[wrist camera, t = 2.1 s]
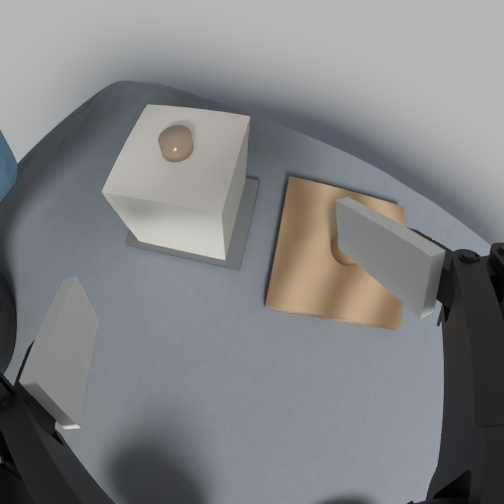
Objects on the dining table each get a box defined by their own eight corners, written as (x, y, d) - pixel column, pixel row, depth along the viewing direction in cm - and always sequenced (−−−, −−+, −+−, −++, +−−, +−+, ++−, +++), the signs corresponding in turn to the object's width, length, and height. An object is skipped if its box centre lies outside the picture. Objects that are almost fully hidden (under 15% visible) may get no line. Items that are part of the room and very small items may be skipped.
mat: (126, 244, 29) (125, 242, 28) (157, 165, 32) (156, 162, 31) (239, 270, 29) (239, 268, 28) (259, 183, 32) (259, 180, 31)
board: (264, 306, 28) (265, 305, 26) (287, 181, 32) (289, 175, 31) (394, 329, 27) (400, 328, 26) (399, 211, 32) (404, 206, 31)
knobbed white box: (139, 241, 28) (94, 182, 17) (166, 167, 31) (144, 92, 20) (225, 260, 28) (220, 203, 17) (245, 181, 31) (251, 104, 20)
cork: (328, 262, 28) (342, 248, 24) (332, 230, 29) (345, 213, 25) (360, 268, 28) (377, 256, 24) (362, 237, 29) (379, 222, 25)
